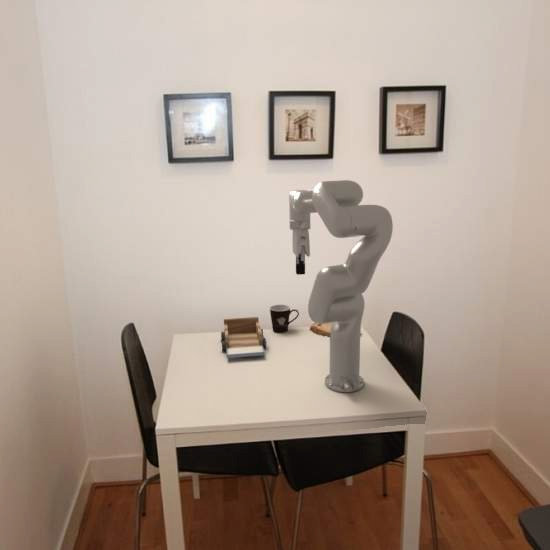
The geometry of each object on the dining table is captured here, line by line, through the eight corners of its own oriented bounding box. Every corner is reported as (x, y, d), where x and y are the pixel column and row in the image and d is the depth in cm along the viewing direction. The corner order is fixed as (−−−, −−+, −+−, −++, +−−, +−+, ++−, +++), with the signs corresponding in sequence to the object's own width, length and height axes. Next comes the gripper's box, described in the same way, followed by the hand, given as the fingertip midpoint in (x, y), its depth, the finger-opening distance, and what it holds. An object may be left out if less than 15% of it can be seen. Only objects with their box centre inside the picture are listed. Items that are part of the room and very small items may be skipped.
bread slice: (364, 336, 191) (364, 328, 190) (323, 343, 186) (323, 334, 185) (344, 322, 208) (344, 314, 207) (306, 327, 202) (306, 319, 201)
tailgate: (262, 348, 178) (264, 355, 172) (226, 351, 176) (227, 357, 170) (262, 345, 177) (264, 351, 172) (226, 348, 176) (227, 354, 170)
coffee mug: (267, 333, 196) (266, 310, 194) (273, 325, 204) (273, 304, 202) (294, 335, 193) (294, 312, 191) (299, 328, 201) (299, 305, 199)
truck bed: (266, 350, 179) (266, 330, 177) (222, 353, 177) (221, 333, 175) (262, 334, 195) (261, 316, 193) (221, 337, 193) (220, 319, 191)
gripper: (314, 227, 163) (314, 278, 168) (306, 221, 178) (306, 268, 182) (293, 228, 162) (294, 279, 167) (286, 222, 177) (287, 269, 181)
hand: (300, 273), depth 175 cm, fingers closed
